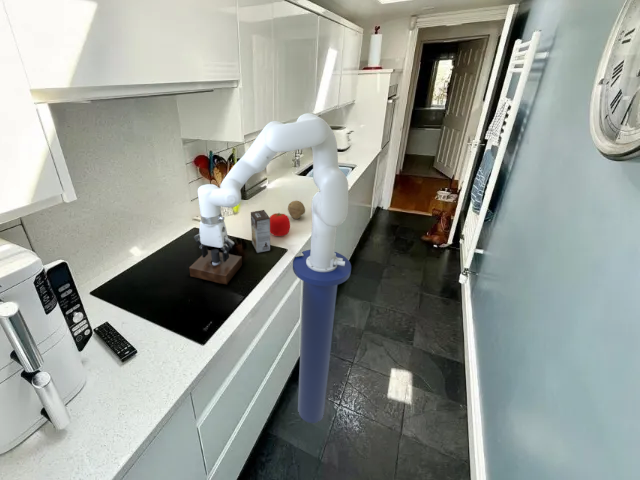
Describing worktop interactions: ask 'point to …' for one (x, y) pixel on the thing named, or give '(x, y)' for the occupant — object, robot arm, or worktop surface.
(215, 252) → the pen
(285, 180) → the worktop surface
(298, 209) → the natural sponge
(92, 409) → the worktop surface
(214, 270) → the holder
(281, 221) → the tomato
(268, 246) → the coffee box
